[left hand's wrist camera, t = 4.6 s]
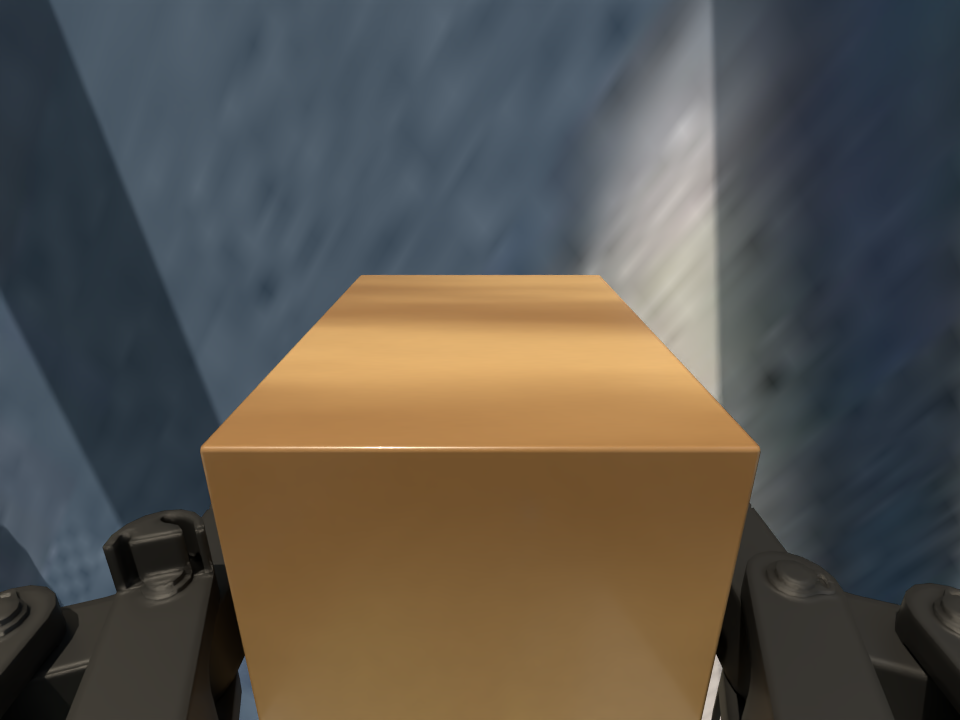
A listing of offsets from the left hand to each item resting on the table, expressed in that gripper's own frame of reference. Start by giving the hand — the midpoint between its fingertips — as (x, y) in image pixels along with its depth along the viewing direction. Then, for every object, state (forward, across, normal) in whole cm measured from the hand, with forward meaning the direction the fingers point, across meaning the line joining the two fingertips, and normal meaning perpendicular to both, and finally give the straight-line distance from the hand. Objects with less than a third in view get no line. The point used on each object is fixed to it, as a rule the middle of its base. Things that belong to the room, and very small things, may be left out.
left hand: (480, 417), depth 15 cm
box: (+1, 0, -7) cm, 7 cm away
